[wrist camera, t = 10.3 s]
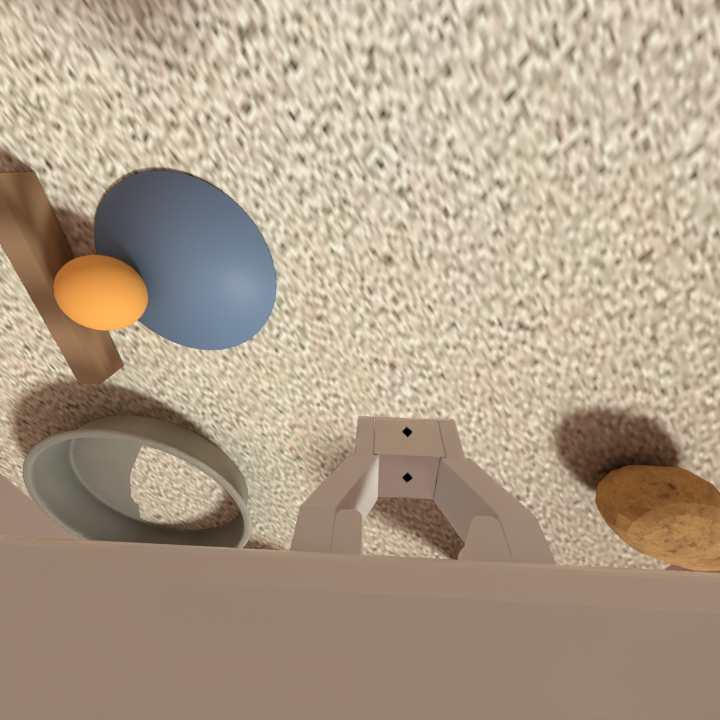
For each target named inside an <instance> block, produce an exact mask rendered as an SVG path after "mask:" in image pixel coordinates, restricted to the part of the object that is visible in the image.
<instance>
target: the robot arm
mask: <svg viewBox="0 0 720 720" xmlns="http://www.w3.org/2000/svg"><path fill="white" fill-rule="evenodd" d="M378 497H404V498H419V499H433V501H434V502H435V504H436V505H437V507H438V508H439V509H440V511H441V512H442V513H443V515H444V516H445V517H446V519H447V520H448V522H449V523H450V524H451V526H452V527H453V528H454V530H455V531H456V533H457V534H458V535H459V537H460V538H461V539H462V541H463V542H464V543H465V546H464V549H463V553H462V556H461V560H456V559H437V558H418V557H399V556H380V555H362V522H363V521H364V519H365V518H366V516H367V515H368V513H369V512H370V510H371V509H372V507H373V505H374V504H375V502H376V501H377V499H378ZM0 720H720V573H707V572H689V571H670V570H651V569H632V568H613V567H593V566H574V565H556V562H555V560H554V558H553V555H552V553H551V551H550V549H549V546H548V544H547V542H546V539H545V537H544V535H543V532H542V530H541V528H540V525H539V523H538V521H537V518H536V517H535V516H534V515H533V514H532V513H531V512H530V511H529V510H527V509H526V508H525V507H524V506H523V505H522V504H521V503H520V502H518V501H517V500H516V499H515V498H514V497H513V496H512V495H511V494H509V493H508V492H507V491H506V490H505V489H504V488H503V487H502V486H500V485H499V484H498V483H497V482H496V481H495V480H494V479H493V478H491V477H490V476H489V475H488V474H487V473H486V472H485V471H484V470H482V469H481V468H480V467H479V466H478V465H477V464H476V463H475V462H473V461H472V460H471V459H470V458H465V456H464V452H463V449H462V445H461V442H460V438H459V435H458V431H457V428H456V424H455V421H454V420H453V419H421V418H393V417H375V429H374V417H368V416H359V418H358V425H357V436H356V447H355V454H350V455H349V456H348V457H347V458H346V459H345V460H344V461H343V462H342V463H341V464H340V465H339V466H338V467H337V469H336V470H335V471H334V472H333V473H332V474H331V475H330V476H329V477H328V478H327V479H326V480H325V481H324V482H323V483H322V484H321V485H320V486H319V487H318V488H317V489H316V490H315V491H314V492H313V494H312V495H311V496H310V497H309V498H308V499H307V500H306V501H305V502H304V503H303V504H302V505H301V506H300V510H299V515H298V519H297V523H296V527H295V531H294V535H293V540H292V544H291V548H290V551H285V550H266V549H246V548H227V547H208V546H189V545H170V544H151V543H131V542H112V541H93V540H74V539H55V538H35V537H16V536H0Z"/></svg>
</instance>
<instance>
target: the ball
mask: <svg viewBox="0 0 720 720" xmlns="http://www.w3.org/2000/svg"><path fill="white" fill-rule="evenodd" d="M53 288H54V296H55V299H56V302H57V304H58V305H59V307H60V308H61V310H62V311H63V312H64V313H65V314H66V315H67V316H68V317H69V318H71V319H72V320H73V321H75V322H77V323H78V324H80V325H83V326H85V327H88V328H91V329H96V330H117V329H121V328H125V327H127V326H129V325H131V324H133V323H134V322H135V321H137V320H138V319H139V318H140V317H141V316H142V314H143V313H144V311H145V309H146V307H147V303H148V292H147V288H146V285H145V283H144V281H143V279H142V278H141V276H140V275H139V274H138V273H137V272H136V271H135V270H134V269H133V268H132V267H131V266H129V265H128V264H126V263H125V262H123V261H121V260H118V259H116V258H113V257H109V256H104V255H86V256H81V257H78V258H75V259H73V260H71V261H69V262H68V263H66V264H65V265H64V266H63V267H62V268H61V269H60V270H59V272H58V273H57V275H56V277H55V280H54V286H53Z"/></svg>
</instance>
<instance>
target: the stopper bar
mask: <svg viewBox="0 0 720 720" xmlns="http://www.w3.org/2000/svg"><path fill="white" fill-rule="evenodd" d="M0 244H1V246H2V248H3V249H4V251H5V253H6V255H7V256H8V258H9V260H10V262H11V263H12V265H13V267H14V269H15V271H16V272H17V274H18V276H19V278H20V279H21V281H22V283H23V285H24V286H25V288H26V290H27V292H28V294H29V295H30V297H31V299H32V301H33V302H34V304H35V306H36V308H37V309H38V311H39V313H40V315H41V317H42V318H43V320H44V322H45V324H46V325H47V327H48V329H49V331H50V332H51V334H52V336H53V338H54V340H55V341H56V343H57V345H58V347H59V348H60V350H61V352H62V354H63V355H64V357H65V359H66V361H67V363H68V364H69V366H70V368H71V370H72V371H73V373H74V375H75V377H76V378H77V380H78V382H79V383H88V384H101V383H103V382H104V381H105V380H106V379H108V378H109V377H110V376H111V375H113V374H114V373H115V372H116V371H118V370H119V369H120V368H121V367H123V366H124V364H123V362H122V360H121V358H120V356H119V354H118V351H117V349H116V347H115V345H114V343H113V341H112V338H111V336H110V334H109V332H108V330H96V329H91V328H88V327H85V326H83V325H80V324H78V323H77V322H75V321H73V320H72V319H71V318H69V317H68V316H67V315H66V314H65V313H64V312H63V311H62V310H61V308H60V307H59V305H58V304H57V302H56V299H55V296H54V288H53V286H54V280H55V277H56V275H57V273H58V272H59V270H60V269H61V268H62V267H63V266H64V265H65V264H66V263H68V262H69V261H71V260H73V259H75V258H74V256H73V254H72V252H71V249H70V247H69V245H68V243H67V241H66V239H65V236H64V234H63V232H62V230H61V228H60V226H59V223H58V221H57V219H56V217H55V215H54V213H53V210H52V208H51V206H50V204H49V202H48V200H47V197H46V195H45V193H44V191H43V189H42V186H41V184H40V182H39V180H38V178H37V176H36V173H35V172H0Z"/></svg>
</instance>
